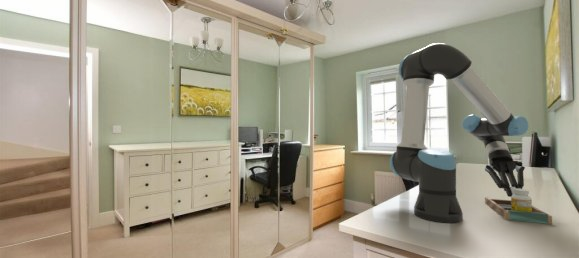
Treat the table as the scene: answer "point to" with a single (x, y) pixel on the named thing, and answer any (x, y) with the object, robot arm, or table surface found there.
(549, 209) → the table surface
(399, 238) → the table surface
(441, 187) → the robot arm
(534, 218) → the wooden tray
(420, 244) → the table surface
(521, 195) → the supplement bottle
